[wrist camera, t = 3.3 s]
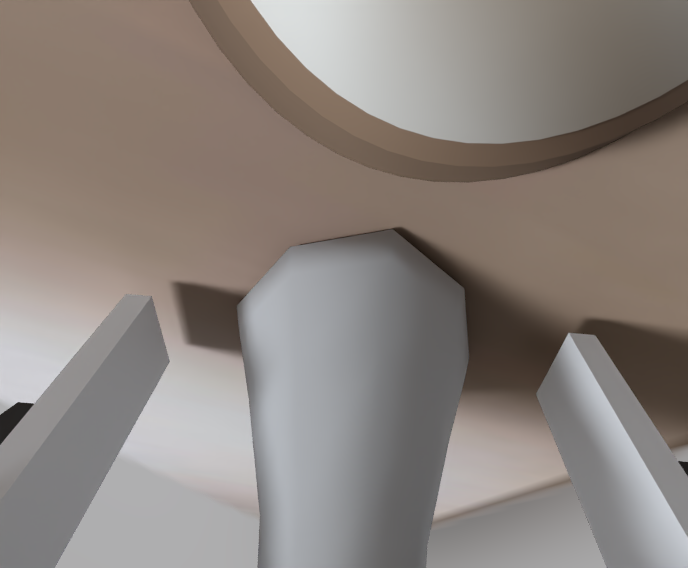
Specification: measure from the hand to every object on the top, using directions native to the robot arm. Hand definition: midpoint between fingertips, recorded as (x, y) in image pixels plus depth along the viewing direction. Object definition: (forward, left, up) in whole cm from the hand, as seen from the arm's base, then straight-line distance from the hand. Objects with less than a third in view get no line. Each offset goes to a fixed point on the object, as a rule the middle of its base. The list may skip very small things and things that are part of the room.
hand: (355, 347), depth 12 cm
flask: (0, 0, -1) cm, 1 cm away
